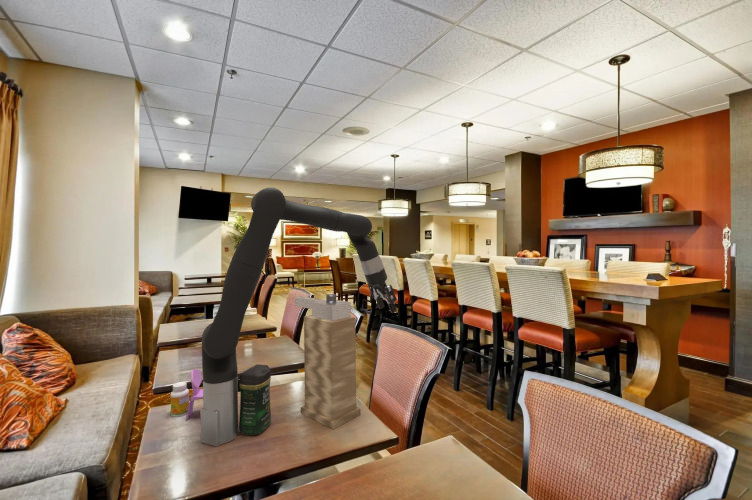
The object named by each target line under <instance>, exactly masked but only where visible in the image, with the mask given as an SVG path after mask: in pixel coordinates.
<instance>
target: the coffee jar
mask: <svg viewBox="0 0 752 500" xmlns="http://www.w3.org/2000/svg"><path fill="white" fill-rule="evenodd" d="M271 371H272V370H271V368H270V366H268V365H267V364H257V363H256V364H255V365H253V366H251V367H248V369H245V370H244V371H243V372H241V373H240V374H239V379H238V384H239V385H238V387H239V390H240V398H239V399H240V401H239V402H240V404H239V417H238V433H240V434H243V435H245V436H255V435H261V433H263V432H264V431H265V430H267V428H268V427H269V425H270V424H271V423H272V414H271V413H272V412H271V391H270V389H271V388H270V387H271V379H272V375H271Z"/></svg>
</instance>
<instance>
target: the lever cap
mask: <svg viewBox="0 0 752 500" xmlns="http://www.w3.org/2000/svg"><path fill="white" fill-rule="evenodd" d="M325 297H326V298H325V299H321V298H314V297H309V296H294V307H298V308H305V309H310V310H311V315H312V317H313V318H317V319H322V320H327V321H332V322H333V321H338V320H342V319H346V318H351V317H352V302H351V301H347V300H338V299H337V294H336V293H328V294H326V295H325Z"/></svg>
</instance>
